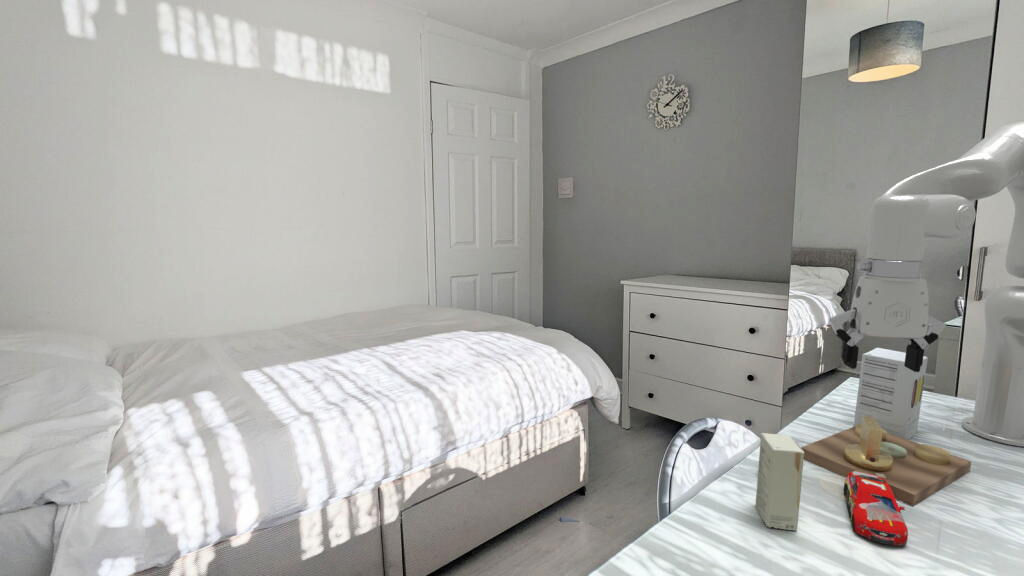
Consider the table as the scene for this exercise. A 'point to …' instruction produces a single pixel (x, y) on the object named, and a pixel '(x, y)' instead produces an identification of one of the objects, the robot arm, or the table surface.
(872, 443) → the wing knob
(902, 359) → the supplement box
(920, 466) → the brown flat rectangular board
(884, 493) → the race car
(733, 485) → the table surface
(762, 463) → the skincare box
